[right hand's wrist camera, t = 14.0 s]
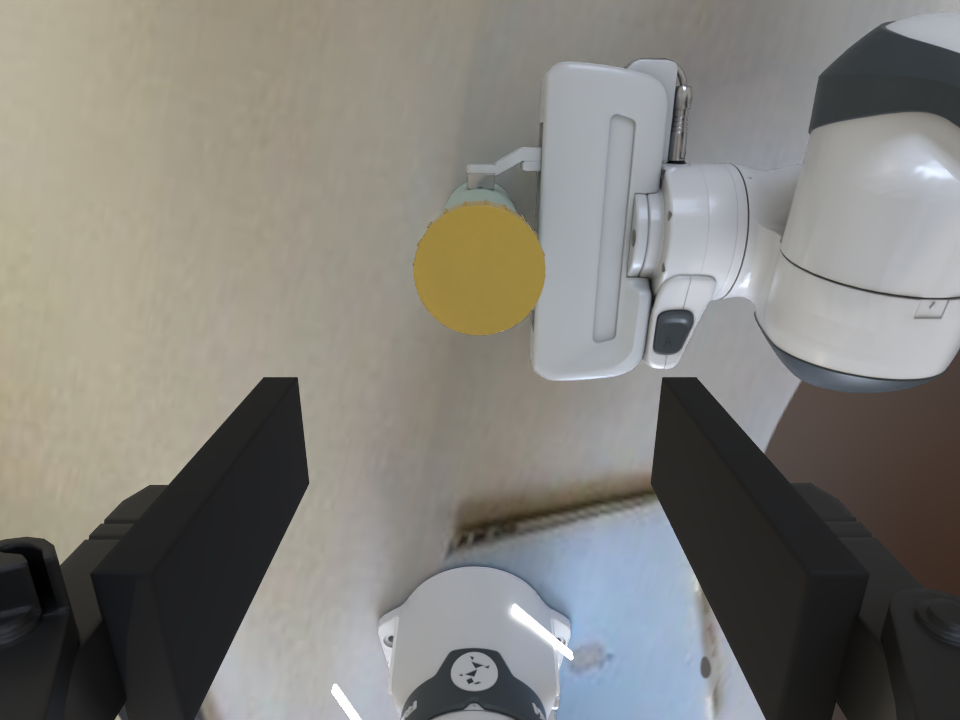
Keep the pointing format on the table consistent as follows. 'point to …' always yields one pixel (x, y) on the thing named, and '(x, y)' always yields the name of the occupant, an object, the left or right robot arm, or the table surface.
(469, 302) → the lid
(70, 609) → the right robot arm
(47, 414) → the table surface
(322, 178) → the table surface
